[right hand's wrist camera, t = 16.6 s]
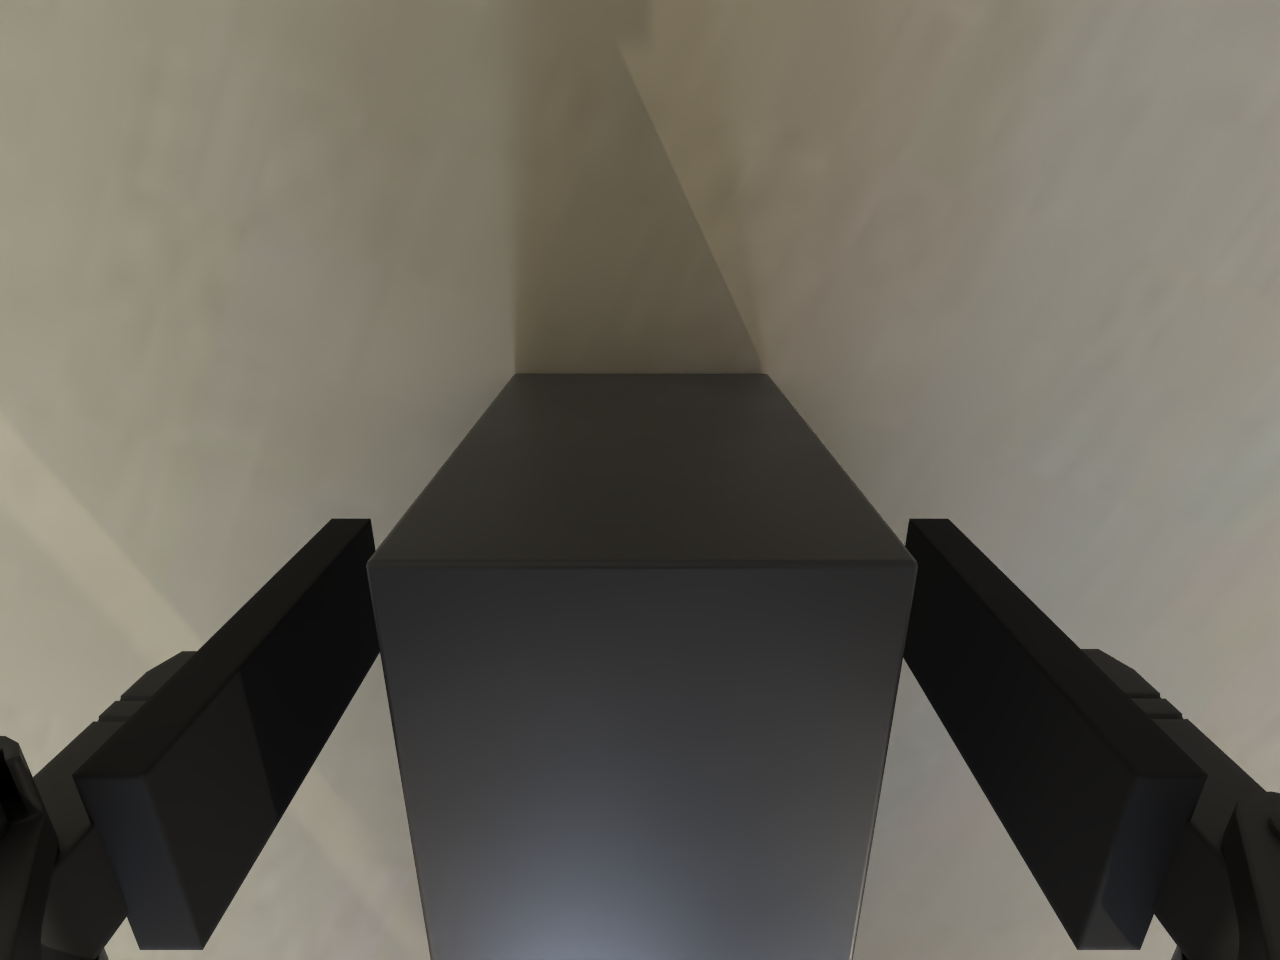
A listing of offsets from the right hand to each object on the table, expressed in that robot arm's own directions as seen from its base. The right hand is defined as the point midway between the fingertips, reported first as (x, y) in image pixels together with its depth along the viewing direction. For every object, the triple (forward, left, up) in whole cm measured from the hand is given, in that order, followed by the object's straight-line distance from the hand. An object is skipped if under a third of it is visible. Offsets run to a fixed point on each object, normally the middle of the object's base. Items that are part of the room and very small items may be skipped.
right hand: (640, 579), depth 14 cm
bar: (+7, +5, -3) cm, 9 cm away
